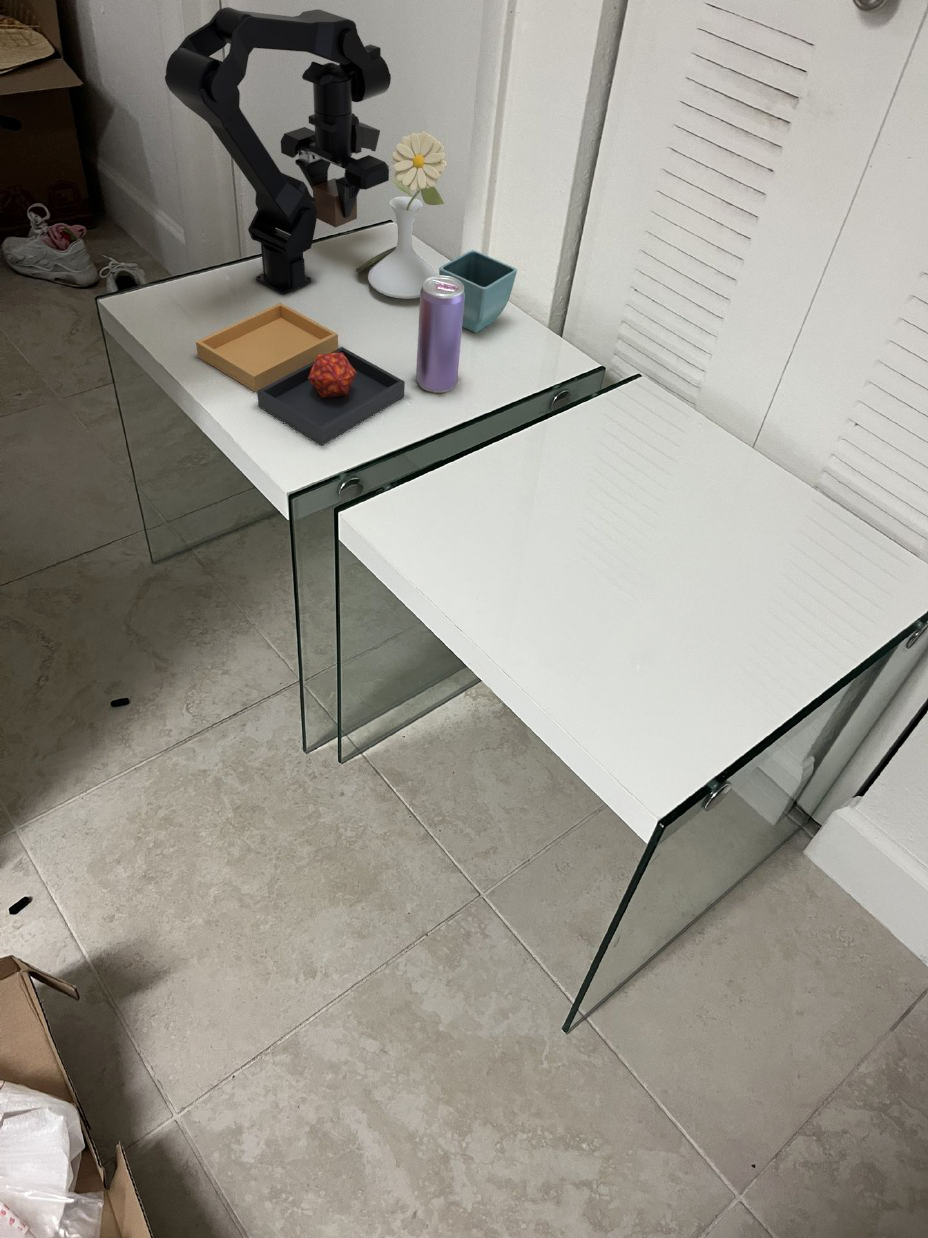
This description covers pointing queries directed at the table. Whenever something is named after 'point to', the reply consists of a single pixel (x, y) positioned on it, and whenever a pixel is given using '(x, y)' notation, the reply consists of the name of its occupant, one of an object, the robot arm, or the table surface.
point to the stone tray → (330, 399)
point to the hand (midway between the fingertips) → (335, 211)
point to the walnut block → (331, 204)
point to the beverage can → (439, 333)
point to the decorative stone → (332, 375)
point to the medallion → (374, 260)
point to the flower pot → (481, 287)
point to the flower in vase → (410, 215)
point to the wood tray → (267, 346)
